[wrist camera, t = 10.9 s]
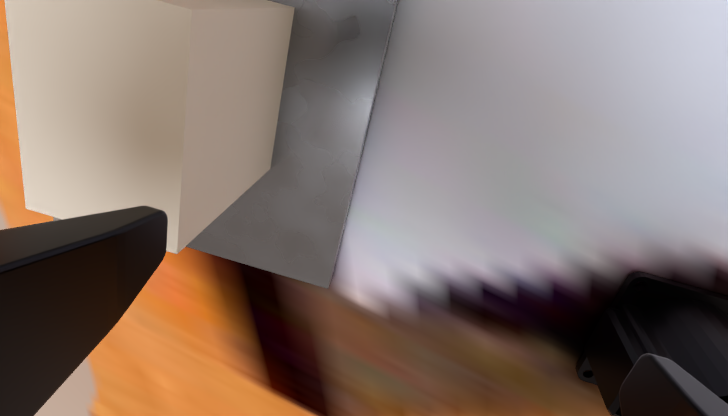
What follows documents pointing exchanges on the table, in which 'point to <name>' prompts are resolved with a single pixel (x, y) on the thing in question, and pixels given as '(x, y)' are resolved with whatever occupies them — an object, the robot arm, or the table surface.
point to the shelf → (310, 144)
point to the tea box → (146, 104)
